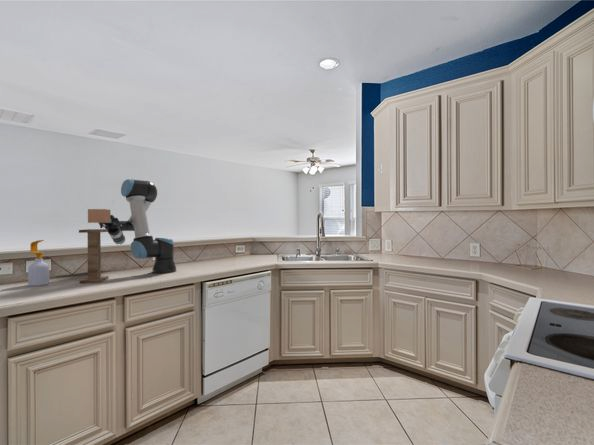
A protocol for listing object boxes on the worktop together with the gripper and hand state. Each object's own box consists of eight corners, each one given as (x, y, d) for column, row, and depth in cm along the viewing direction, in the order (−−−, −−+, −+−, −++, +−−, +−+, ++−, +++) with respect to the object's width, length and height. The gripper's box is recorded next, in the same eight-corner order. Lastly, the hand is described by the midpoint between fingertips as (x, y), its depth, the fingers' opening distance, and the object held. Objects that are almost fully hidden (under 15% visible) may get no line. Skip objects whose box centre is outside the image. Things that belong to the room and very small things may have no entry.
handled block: (102, 222, 211) (102, 210, 211) (117, 222, 213) (117, 210, 213) (87, 222, 188) (87, 209, 188) (104, 222, 190) (104, 209, 190)
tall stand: (88, 279, 191) (87, 229, 190) (108, 278, 193) (108, 229, 193) (79, 283, 179) (78, 230, 179) (101, 282, 181) (100, 229, 181)
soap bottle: (40, 286, 172) (40, 240, 171) (23, 286, 172) (23, 240, 172) (53, 282, 181) (53, 239, 180) (37, 282, 181) (37, 239, 181)
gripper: (127, 235, 221) (117, 218, 201) (99, 235, 217) (87, 218, 197) (128, 226, 225) (119, 208, 205) (101, 226, 221) (89, 208, 201)
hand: (103, 213), depth 201 cm, fingers closed on handled block, 4 cm apart
